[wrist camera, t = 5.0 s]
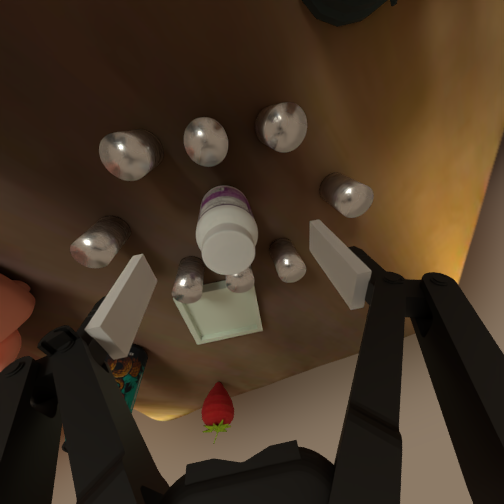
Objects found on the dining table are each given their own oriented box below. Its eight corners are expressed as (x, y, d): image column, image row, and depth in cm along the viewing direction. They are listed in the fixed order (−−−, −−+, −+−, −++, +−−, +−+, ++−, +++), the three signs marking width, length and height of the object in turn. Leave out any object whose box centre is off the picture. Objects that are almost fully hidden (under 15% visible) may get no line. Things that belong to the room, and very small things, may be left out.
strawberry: (215, 392, 47) (214, 451, 39) (196, 380, 43) (191, 443, 35) (238, 384, 46) (242, 442, 38) (221, 370, 42) (222, 432, 34)
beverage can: (124, 334, 32) (82, 431, 22) (157, 353, 36) (134, 443, 26) (93, 352, 33) (40, 452, 24) (128, 368, 37) (96, 459, 27)
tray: (198, 336, 35) (197, 344, 33) (175, 290, 29) (173, 299, 27) (261, 322, 35) (262, 330, 34) (251, 274, 29) (253, 282, 28)
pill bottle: (243, 231, 25) (255, 285, 17) (199, 225, 24) (189, 280, 16) (253, 188, 22) (272, 227, 14) (203, 179, 21) (194, 216, 13)
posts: (136, 287, 27) (121, 317, 23) (44, 145, 18) (-10, 154, 14) (338, 246, 28) (359, 268, 24) (356, 90, 19) (396, 82, 14)
